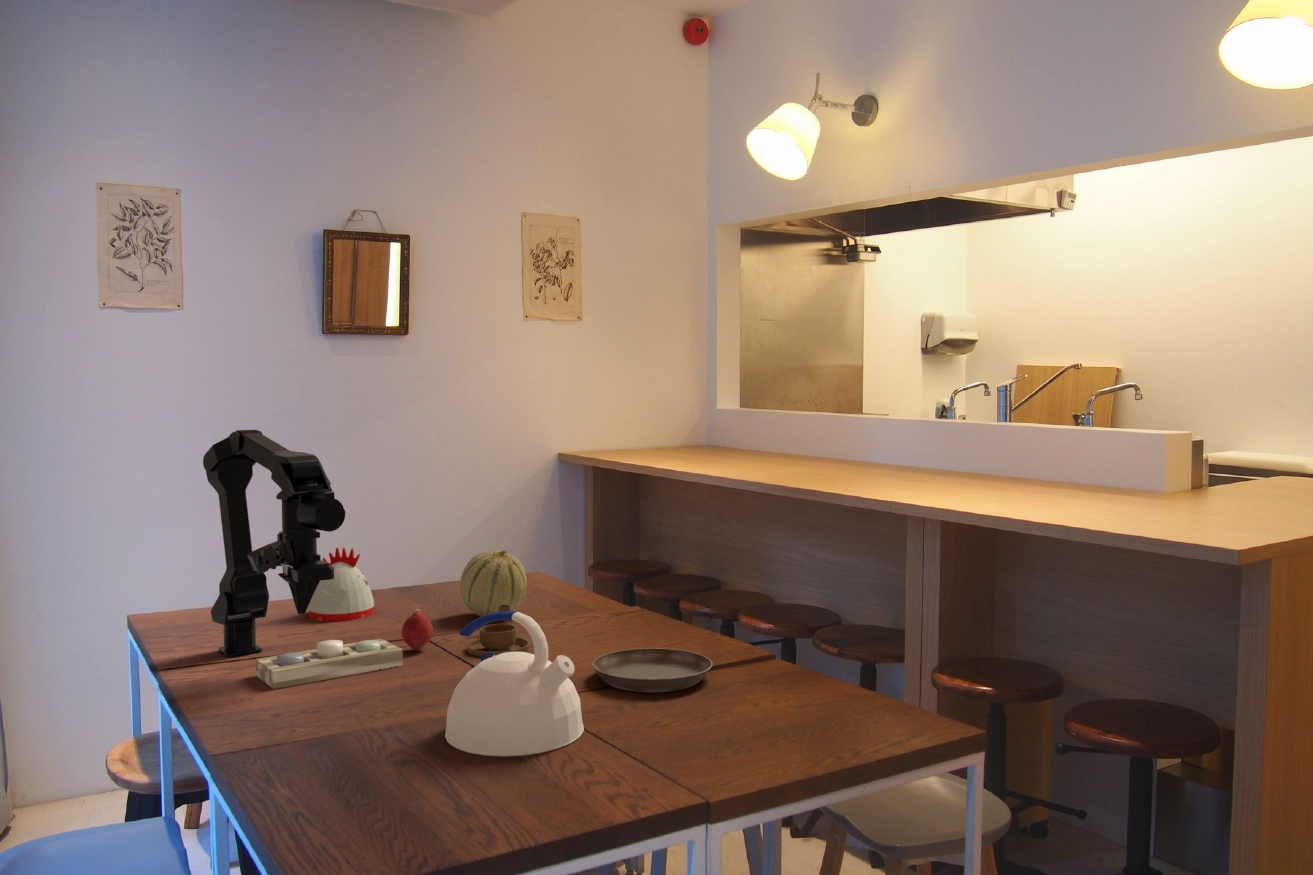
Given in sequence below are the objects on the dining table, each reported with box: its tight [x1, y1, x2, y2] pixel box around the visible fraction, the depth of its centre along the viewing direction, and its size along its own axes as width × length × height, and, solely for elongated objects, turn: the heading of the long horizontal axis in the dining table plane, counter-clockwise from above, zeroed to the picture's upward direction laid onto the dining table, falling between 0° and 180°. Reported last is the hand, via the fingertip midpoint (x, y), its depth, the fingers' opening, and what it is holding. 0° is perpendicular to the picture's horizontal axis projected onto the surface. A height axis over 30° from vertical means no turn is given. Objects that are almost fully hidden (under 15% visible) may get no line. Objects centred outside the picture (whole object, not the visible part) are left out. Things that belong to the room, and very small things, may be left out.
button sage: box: [355, 639, 381, 653], centre depth 188 cm, size 4×4×2 cm
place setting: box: [466, 605, 535, 659], centre depth 201 cm, size 18×20×6 cm
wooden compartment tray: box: [255, 638, 404, 690], centre depth 184 cm, size 10×23×3 cm, turn 127°
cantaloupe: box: [459, 549, 528, 617], centre depth 225 cm, size 15×15×15 cm
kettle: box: [444, 610, 585, 758], centre depth 151 cm, size 20×21×18 cm
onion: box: [401, 608, 434, 652], centre depth 197 cm, size 6×6×8 cm
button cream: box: [316, 639, 344, 659], centre depth 184 cm, size 4×4×2 cm
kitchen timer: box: [308, 547, 375, 622], centre depth 229 cm, size 14×14×15 cm
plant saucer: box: [592, 647, 713, 694], centre depth 177 cm, size 21×21×3 cm
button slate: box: [276, 652, 304, 667], centre depth 180 cm, size 4×4×2 cm
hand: (301, 613), depth 182 cm, fingers closed
